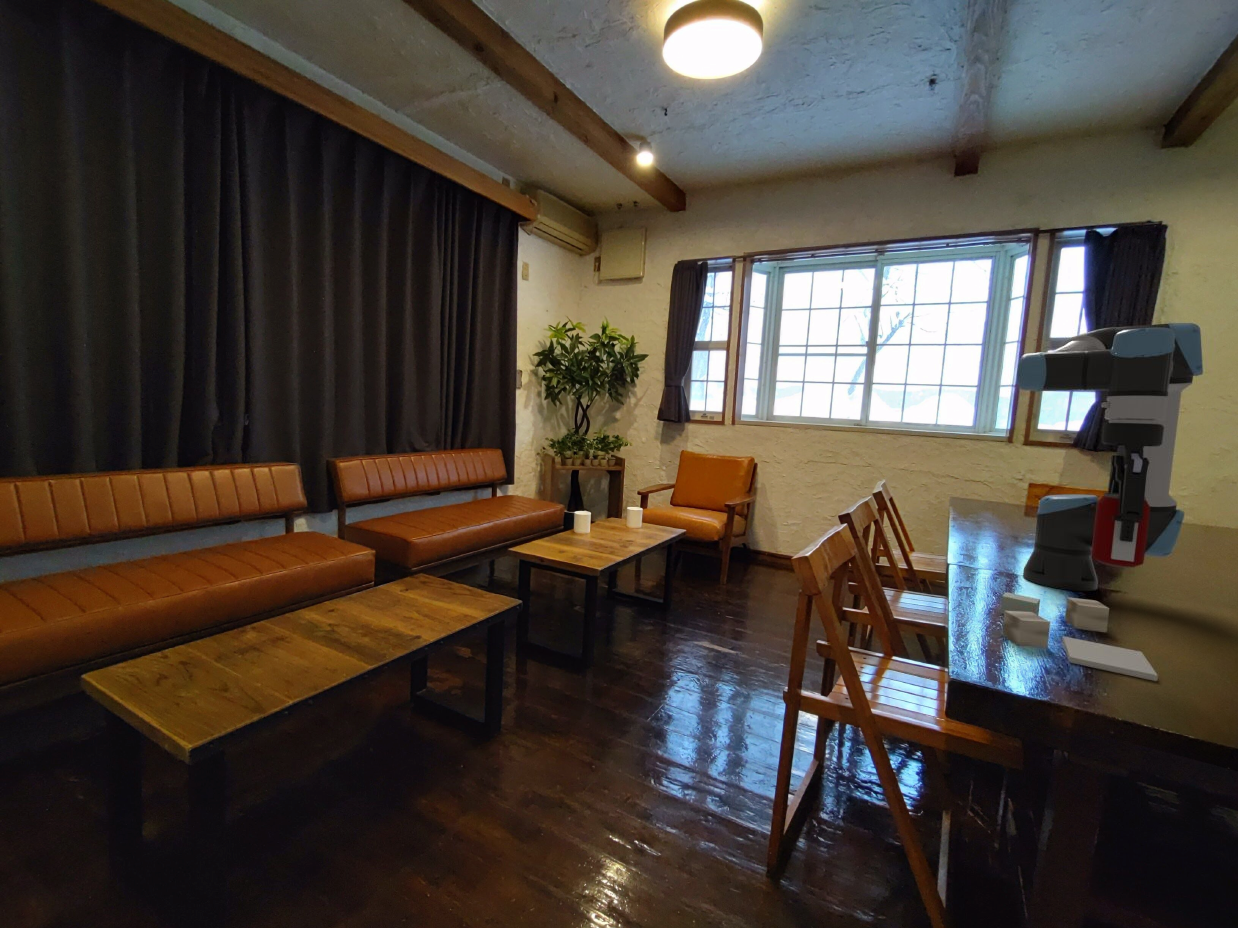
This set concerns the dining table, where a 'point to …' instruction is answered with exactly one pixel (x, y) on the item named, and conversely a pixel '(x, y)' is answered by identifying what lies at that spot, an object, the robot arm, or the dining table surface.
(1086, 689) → the dining table surface
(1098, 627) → the beech block
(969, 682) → the dining table surface
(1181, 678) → the dining table surface
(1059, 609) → the dining table surface
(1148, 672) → the plate
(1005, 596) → the sage block
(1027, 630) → the maple block
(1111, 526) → the beverage can
